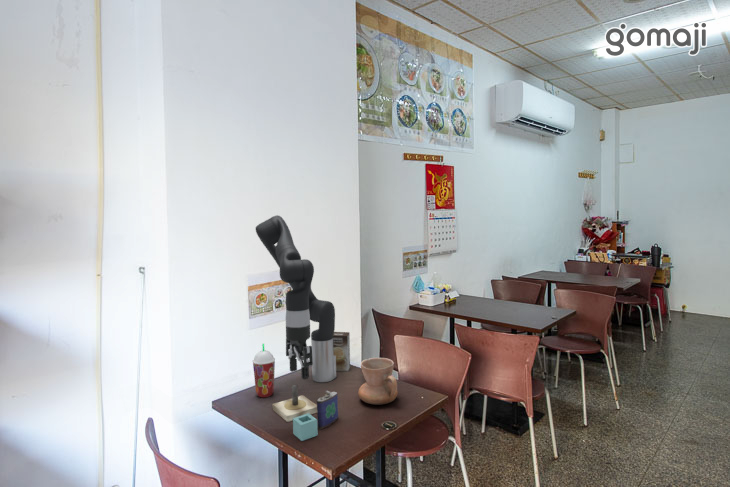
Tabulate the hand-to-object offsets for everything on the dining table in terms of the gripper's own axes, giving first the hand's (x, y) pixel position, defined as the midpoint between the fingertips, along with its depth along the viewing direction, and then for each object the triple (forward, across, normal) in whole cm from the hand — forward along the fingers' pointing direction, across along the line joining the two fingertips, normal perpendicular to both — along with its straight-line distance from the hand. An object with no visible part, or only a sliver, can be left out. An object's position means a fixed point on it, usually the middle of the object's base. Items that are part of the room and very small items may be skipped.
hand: (299, 374), depth 133 cm
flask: (+19, +1, -10) cm, 22 cm away
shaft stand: (+18, +15, -5) cm, 25 cm away
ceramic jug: (+18, +4, -34) cm, 39 cm away
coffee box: (+18, +42, -39) cm, 60 cm away
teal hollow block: (+19, -2, -1) cm, 19 cm away
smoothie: (+19, +35, -2) cm, 40 cm away
